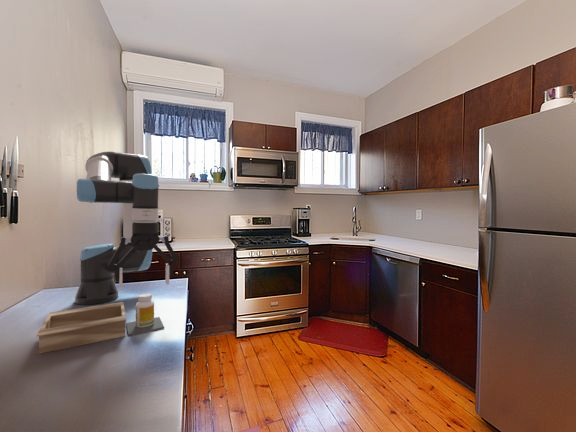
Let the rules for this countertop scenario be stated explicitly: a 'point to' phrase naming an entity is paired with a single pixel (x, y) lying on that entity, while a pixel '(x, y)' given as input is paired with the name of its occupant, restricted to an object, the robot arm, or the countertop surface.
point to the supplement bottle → (144, 311)
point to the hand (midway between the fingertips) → (145, 286)
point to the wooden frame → (81, 326)
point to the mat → (137, 330)
